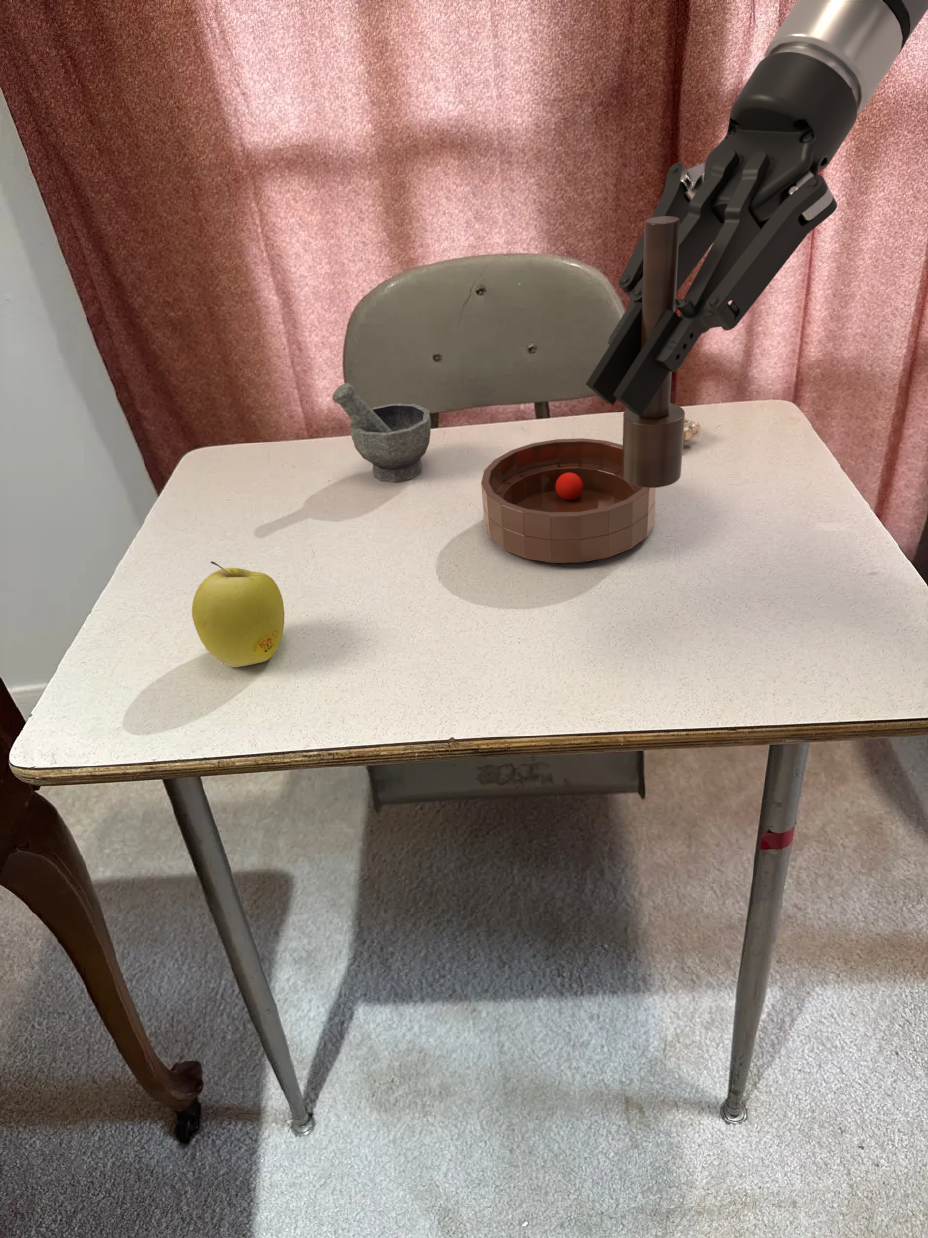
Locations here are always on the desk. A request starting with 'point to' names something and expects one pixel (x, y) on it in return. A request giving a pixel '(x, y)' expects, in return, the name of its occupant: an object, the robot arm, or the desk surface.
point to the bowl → (564, 502)
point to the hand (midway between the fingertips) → (613, 399)
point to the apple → (239, 616)
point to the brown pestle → (661, 426)
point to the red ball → (569, 486)
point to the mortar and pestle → (387, 434)
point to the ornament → (690, 429)
